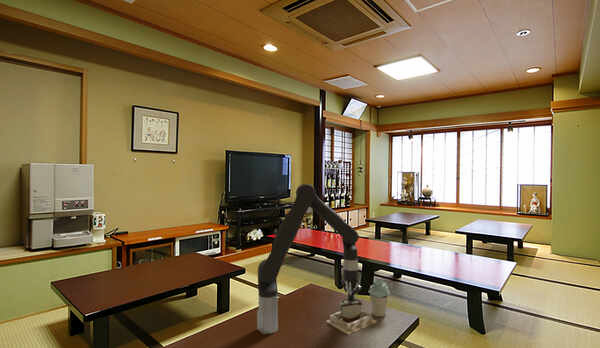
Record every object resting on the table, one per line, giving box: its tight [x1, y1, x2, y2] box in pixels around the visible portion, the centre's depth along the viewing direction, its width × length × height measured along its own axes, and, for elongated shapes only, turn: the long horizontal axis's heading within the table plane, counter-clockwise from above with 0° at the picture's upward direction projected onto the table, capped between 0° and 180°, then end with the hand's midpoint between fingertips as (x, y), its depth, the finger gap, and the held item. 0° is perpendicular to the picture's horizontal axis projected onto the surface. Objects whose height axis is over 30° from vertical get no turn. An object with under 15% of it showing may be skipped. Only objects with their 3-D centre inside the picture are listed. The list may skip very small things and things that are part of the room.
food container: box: [338, 298, 363, 323], centre depth 161 cm, size 12×6×10 cm, turn 105°
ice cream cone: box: [368, 277, 391, 317], centre depth 168 cm, size 10×11×20 cm
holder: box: [325, 309, 378, 335], centre depth 159 cm, size 20×16×4 cm
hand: (351, 301), depth 159 cm, fingers closed
